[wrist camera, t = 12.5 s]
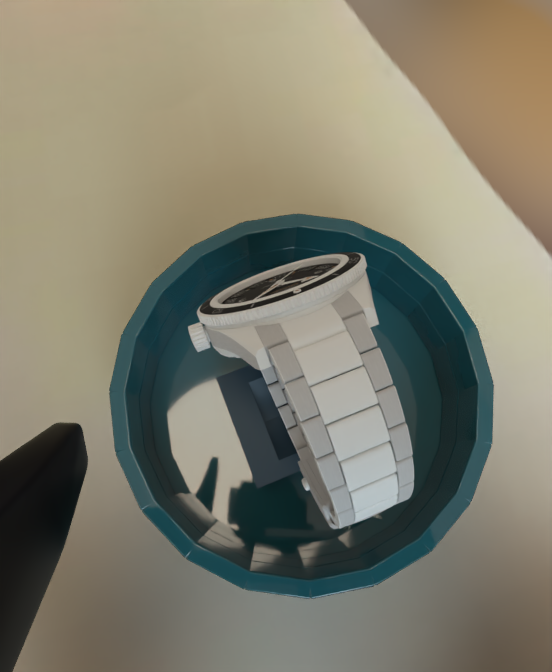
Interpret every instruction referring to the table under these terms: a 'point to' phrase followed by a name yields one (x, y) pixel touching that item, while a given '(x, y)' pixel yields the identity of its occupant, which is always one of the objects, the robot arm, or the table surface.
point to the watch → (312, 384)
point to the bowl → (289, 493)
